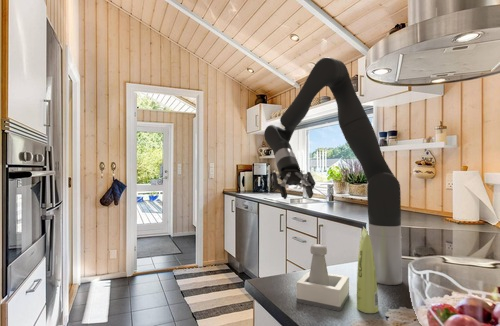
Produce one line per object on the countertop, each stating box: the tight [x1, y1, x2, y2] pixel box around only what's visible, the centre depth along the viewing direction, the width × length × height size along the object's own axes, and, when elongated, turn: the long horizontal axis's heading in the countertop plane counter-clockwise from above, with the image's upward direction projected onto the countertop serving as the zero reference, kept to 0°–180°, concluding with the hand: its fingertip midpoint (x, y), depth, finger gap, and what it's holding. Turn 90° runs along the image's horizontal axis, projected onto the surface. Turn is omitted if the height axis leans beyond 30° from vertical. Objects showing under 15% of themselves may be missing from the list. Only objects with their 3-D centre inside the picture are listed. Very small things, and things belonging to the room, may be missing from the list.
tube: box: [356, 226, 379, 314], centre depth 74 cm, size 6×5×20 cm
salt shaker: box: [308, 243, 330, 286], centre depth 81 cm, size 6×6×13 cm
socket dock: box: [295, 270, 350, 312], centre depth 80 cm, size 11×11×5 cm
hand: (298, 197), depth 98 cm, fingers open, 8 cm apart
